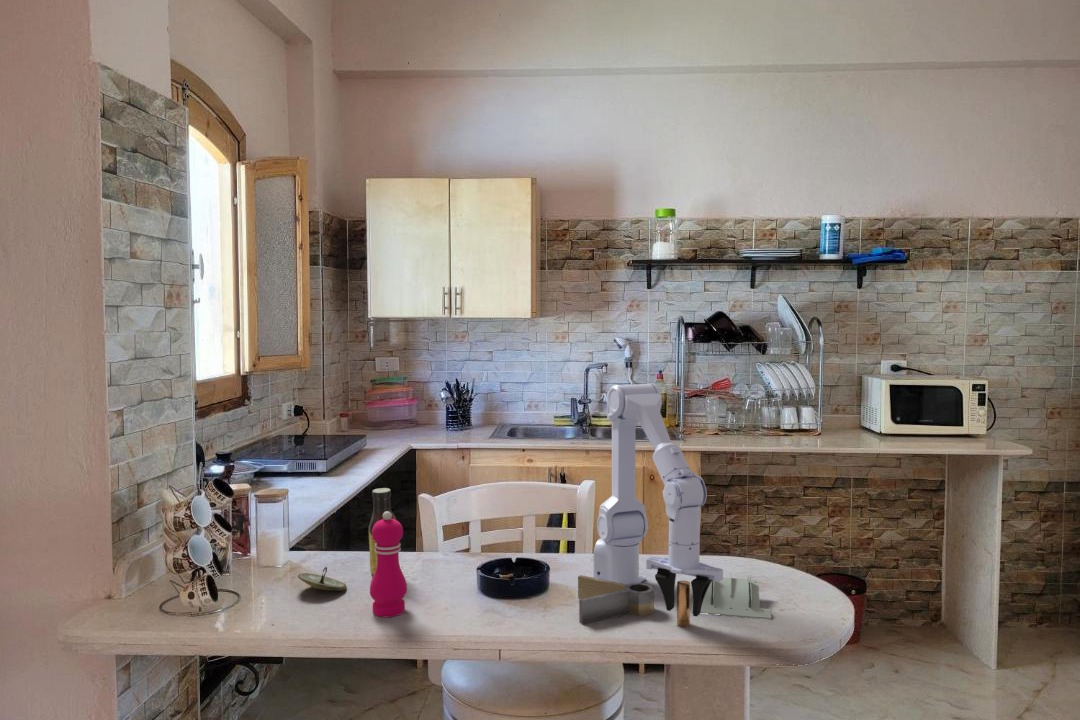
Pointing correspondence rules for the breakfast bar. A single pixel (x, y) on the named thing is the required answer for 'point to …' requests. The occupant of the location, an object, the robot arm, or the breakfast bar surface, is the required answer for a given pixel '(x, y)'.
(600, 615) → the hinge
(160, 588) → the breakfast bar surface
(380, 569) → the pepper mill
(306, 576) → the lid
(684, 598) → the hinge pin
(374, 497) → the sauce bottle
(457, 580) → the breakfast bar surface
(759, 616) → the metal bracket
